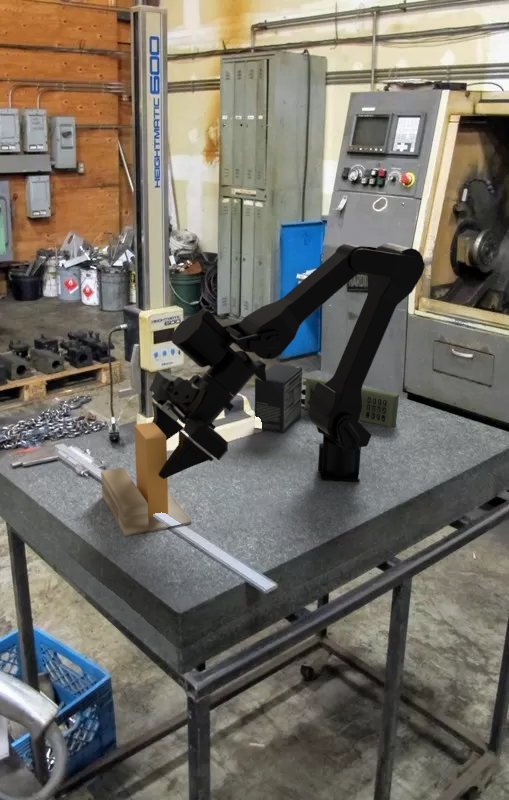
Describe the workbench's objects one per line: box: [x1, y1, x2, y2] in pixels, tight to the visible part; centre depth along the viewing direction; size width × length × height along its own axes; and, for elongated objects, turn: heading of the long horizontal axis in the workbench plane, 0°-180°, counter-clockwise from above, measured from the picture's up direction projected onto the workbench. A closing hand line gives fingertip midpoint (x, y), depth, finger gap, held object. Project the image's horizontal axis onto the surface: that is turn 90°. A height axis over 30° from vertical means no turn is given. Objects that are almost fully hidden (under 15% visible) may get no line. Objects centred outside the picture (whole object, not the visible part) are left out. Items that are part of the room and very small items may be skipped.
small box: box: [254, 363, 303, 434], centre depth 149 cm, size 11×6×10 cm, turn 157°
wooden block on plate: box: [100, 467, 193, 537], centre depth 115 cm, size 10×13×4 cm
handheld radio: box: [301, 376, 400, 428], centre depth 155 cm, size 7×3×25 cm
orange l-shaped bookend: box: [133, 421, 169, 517], centre depth 113 cm, size 6×6×12 cm
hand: (151, 464), depth 113 cm, fingers open, 9 cm apart
